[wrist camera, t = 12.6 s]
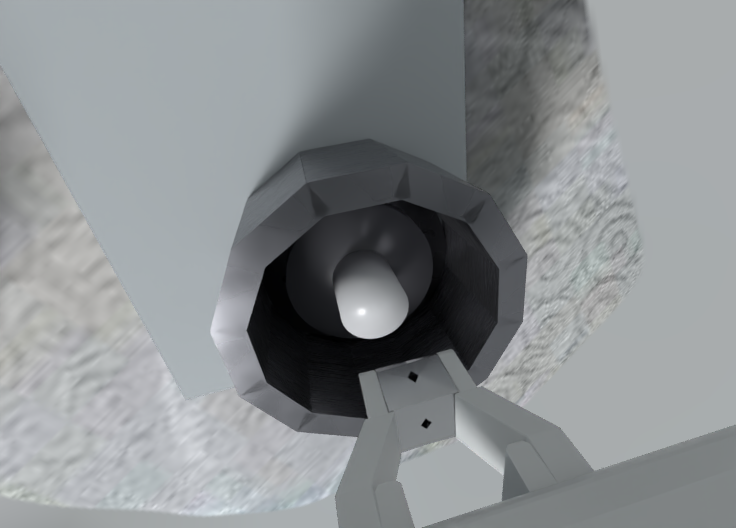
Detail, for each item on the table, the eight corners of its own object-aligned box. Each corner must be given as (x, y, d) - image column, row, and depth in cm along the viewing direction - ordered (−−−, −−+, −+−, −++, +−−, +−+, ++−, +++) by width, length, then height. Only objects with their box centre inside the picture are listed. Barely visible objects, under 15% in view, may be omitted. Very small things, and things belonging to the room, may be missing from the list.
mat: (-79, -92, 11) (-90, -98, 11) (456, -144, 13) (461, -151, 13) (187, 394, 22) (185, 400, 21) (466, 322, 24) (468, 326, 23)
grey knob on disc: (263, 223, 17) (257, 261, 13) (412, 179, 18) (446, 204, 14) (310, 341, 21) (316, 397, 17) (433, 302, 21) (465, 348, 17)
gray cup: (198, 170, 16) (156, 212, 11) (459, 121, 17) (535, 136, 12) (273, 373, 22) (269, 465, 17) (464, 323, 23) (517, 394, 18)
